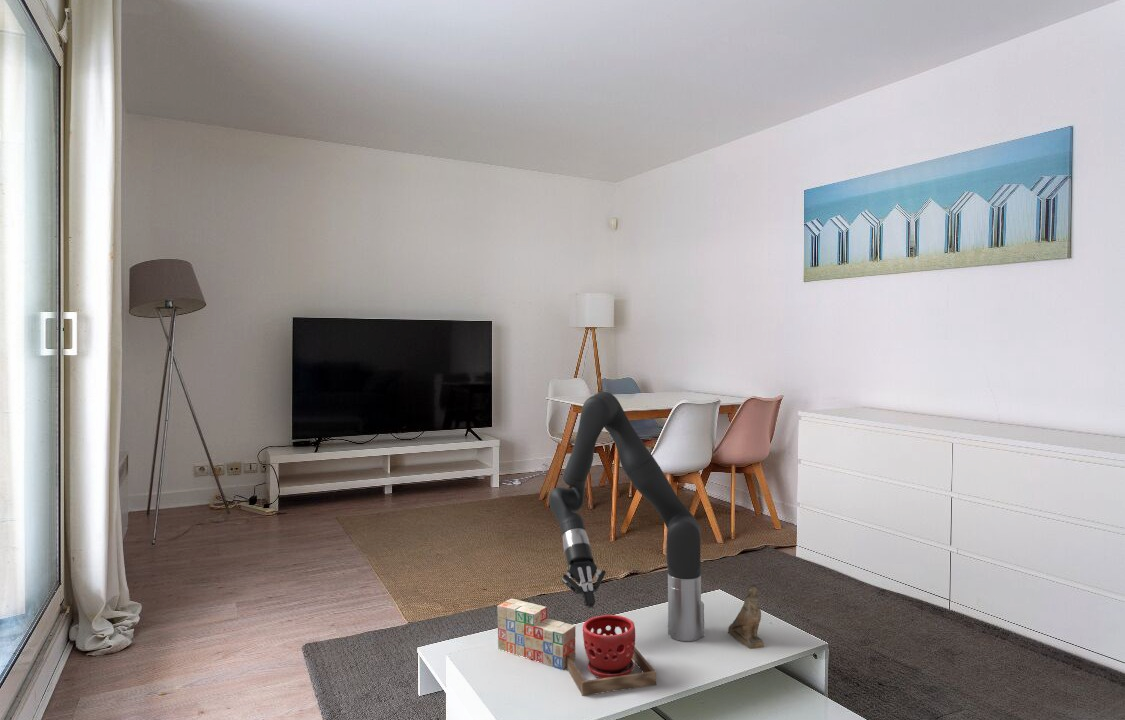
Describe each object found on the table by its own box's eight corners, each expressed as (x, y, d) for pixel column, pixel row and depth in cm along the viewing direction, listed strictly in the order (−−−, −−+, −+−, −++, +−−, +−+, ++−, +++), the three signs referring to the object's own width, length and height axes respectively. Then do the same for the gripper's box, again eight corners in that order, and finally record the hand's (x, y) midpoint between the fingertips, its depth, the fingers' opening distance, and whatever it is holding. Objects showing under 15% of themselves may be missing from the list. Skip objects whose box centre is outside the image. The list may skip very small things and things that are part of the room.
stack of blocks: (576, 660, 172) (575, 613, 171) (562, 670, 166) (562, 622, 166) (511, 641, 184) (511, 597, 183) (497, 649, 178) (496, 604, 178)
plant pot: (607, 654, 175) (607, 609, 175) (646, 671, 165) (646, 624, 165) (572, 671, 166) (572, 623, 166) (610, 690, 156) (610, 640, 156)
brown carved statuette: (763, 655, 179) (772, 595, 175) (745, 657, 178) (753, 597, 174) (742, 628, 190) (750, 572, 186) (725, 630, 189) (732, 573, 185)
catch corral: (634, 658, 173) (634, 646, 173) (656, 684, 159) (656, 672, 159) (566, 667, 168) (566, 655, 168) (582, 695, 154) (582, 682, 154)
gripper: (557, 544, 186) (569, 603, 174) (601, 539, 189) (617, 597, 178) (552, 557, 191) (564, 615, 179) (596, 552, 194) (610, 609, 183)
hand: (590, 606), depth 178 cm, fingers closed
